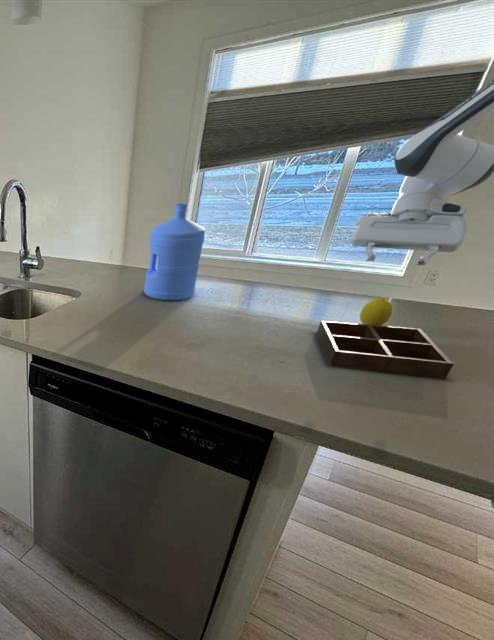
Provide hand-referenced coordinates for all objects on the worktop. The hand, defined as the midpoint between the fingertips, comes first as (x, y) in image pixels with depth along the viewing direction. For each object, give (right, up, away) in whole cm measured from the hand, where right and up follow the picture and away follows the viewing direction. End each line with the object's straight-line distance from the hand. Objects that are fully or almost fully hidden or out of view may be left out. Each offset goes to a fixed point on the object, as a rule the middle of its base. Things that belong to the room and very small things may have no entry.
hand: (395, 261), depth 102 cm
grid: (-16, -24, -11) cm, 31 cm away
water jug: (-42, -1, +34) cm, 54 cm away
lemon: (-7, -17, 0) cm, 18 cm away
